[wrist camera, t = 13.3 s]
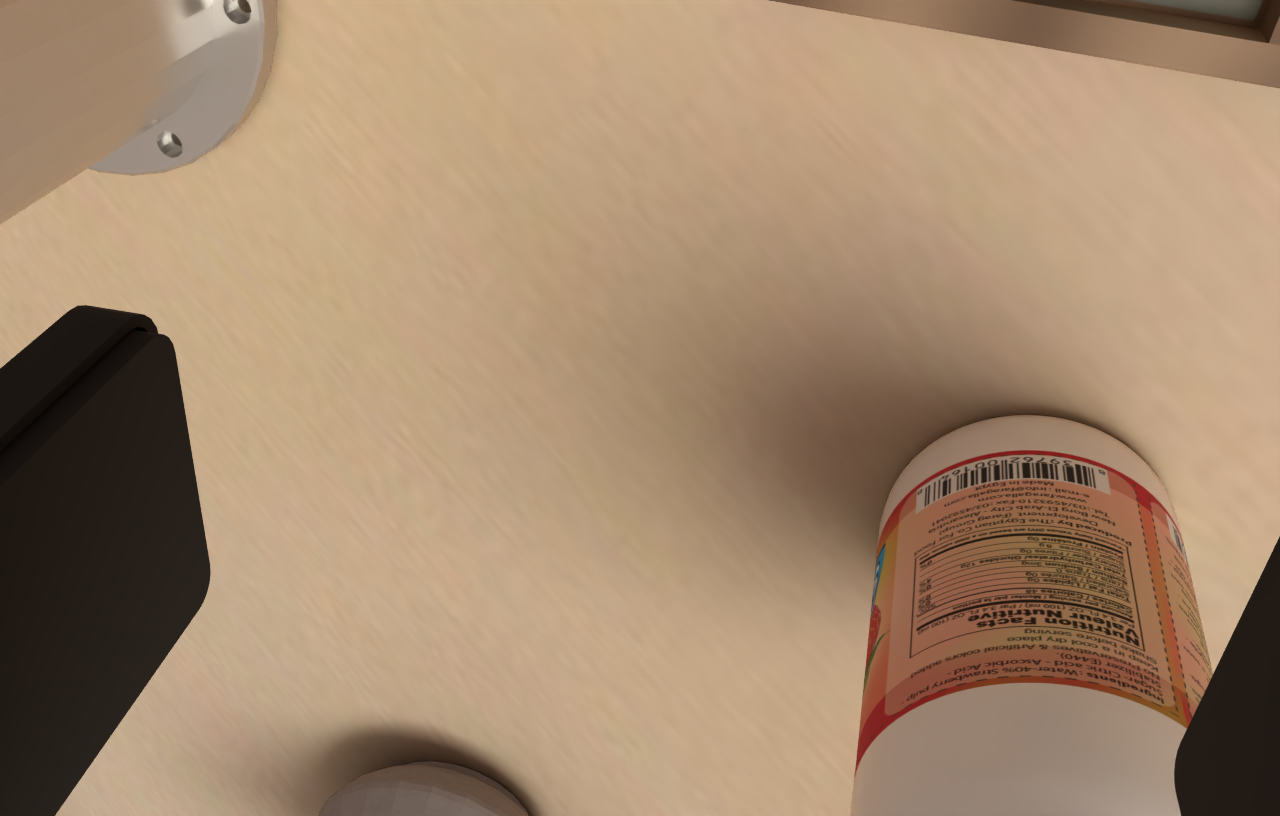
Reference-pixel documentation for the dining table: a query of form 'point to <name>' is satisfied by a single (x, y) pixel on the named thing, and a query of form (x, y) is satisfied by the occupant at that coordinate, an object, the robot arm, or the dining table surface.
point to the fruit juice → (1028, 631)
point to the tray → (1109, 29)
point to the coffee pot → (423, 793)
